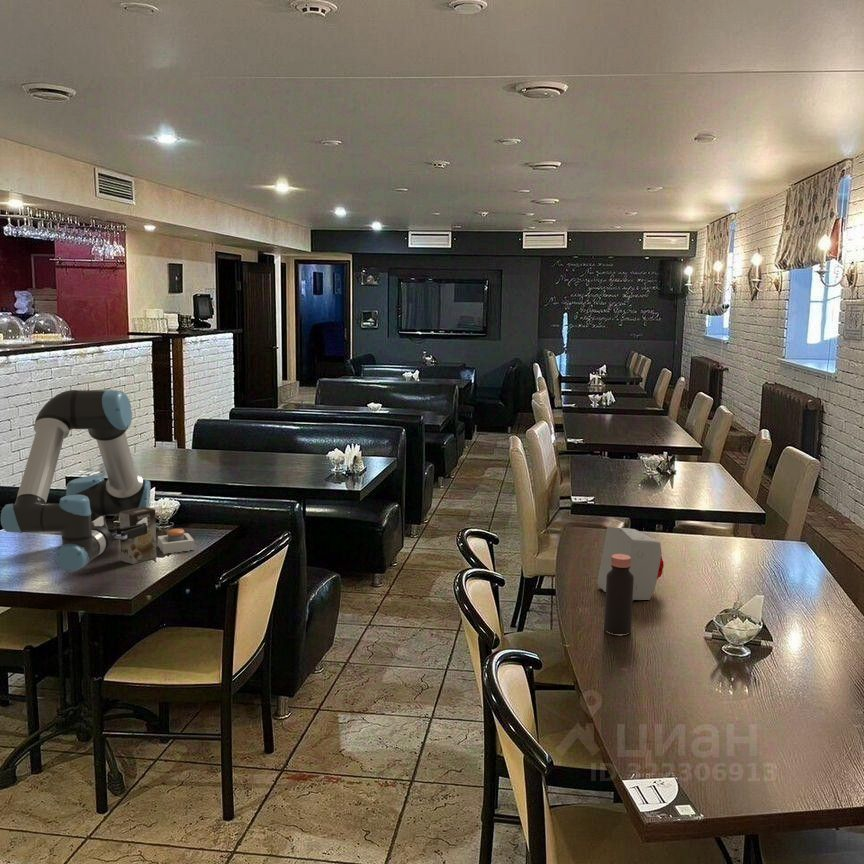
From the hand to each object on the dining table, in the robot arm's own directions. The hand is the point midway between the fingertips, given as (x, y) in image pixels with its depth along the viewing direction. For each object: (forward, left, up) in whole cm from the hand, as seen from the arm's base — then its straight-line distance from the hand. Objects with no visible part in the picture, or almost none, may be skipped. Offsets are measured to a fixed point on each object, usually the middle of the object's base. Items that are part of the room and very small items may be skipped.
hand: (124, 521), depth 262 cm
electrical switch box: (+83, +129, -15) cm, 154 cm away
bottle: (+104, +106, -15) cm, 149 cm away
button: (-16, +18, -14) cm, 28 cm away
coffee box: (-9, +5, -15) cm, 18 cm away
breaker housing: (-16, +18, -15) cm, 28 cm away
